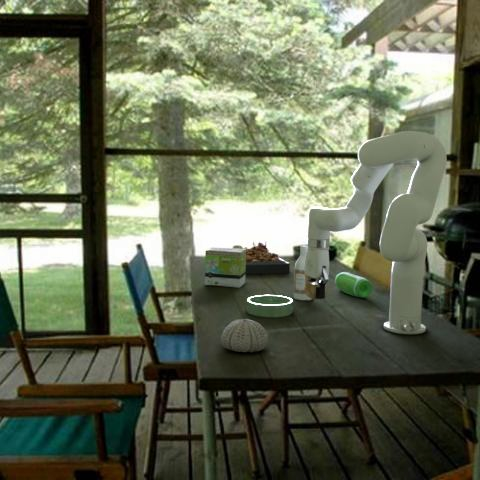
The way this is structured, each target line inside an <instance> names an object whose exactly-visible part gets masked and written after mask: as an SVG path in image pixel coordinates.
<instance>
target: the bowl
mask: <svg viewBox="0 0 480 480" xmlns="http://www.w3.org/2000/svg"><path fill="white" fill-rule="evenodd" d="M246 304H247V306H246V307H247V313H248V314H249V315H251V316H255V317H263V318H283V317H287V316H290V315H292V314H293V311H294V310H293V309H294V300H293V299H292V298H291V297H287V296H283V295H277V294H276V295H275V294H263V295H261V294H260V295H254V296H250V297H248V298H247V303H246Z"/></svg>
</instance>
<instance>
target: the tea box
mask: <svg viewBox="0 0 480 480" xmlns="http://www.w3.org/2000/svg"><path fill="white" fill-rule="evenodd" d="M204 261H205V262H204V285H205V286H219V287H229V288H237V289H239V288H241V287H242V286H243V285H245V283H246V274H245V269H246V249H232V248H231V247H213V246H212V247H211V248H208V249H206V250H205V259H204Z"/></svg>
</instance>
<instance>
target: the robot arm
mask: <svg viewBox="0 0 480 480" xmlns="http://www.w3.org/2000/svg"><path fill="white" fill-rule="evenodd" d="M447 157H448V156H447V151H446V149H445V146H444V145H443V143H442V142H441V141H440V140H439V138H438V137H436V136H435V135H433V134H431V133H429V132H424V131H414V130H402V131H399V132H395V133H391V134H387V135H383V136H380V137H375V138H372V139H368V140H366V141H364V142H363V143H362V144H361V145H360V146H359V149H358V151H357V159H358V162H359V165H358V167H357V168H356V169H355V171H354V172H353V174H352V176H351V178H350V182H351V185H352V186H353V188H354V190H353V194H352V196H351V198H350V199H349V201H348V202H347V204H346V205H345V206H344V207H338V208H328V207H324V206H312V207H310V208H309V209H308V211H307V234H306V237H307V238H306V246H307V250H306V257H305V269H304V273H305V274H306V275H307V276H308V282H311V281H317V287H316V299H315V300H324V299H326V298H325V287H326V284H328V282H329V281H330V280H329V276H330V252H329V249H330V242H331V233H332V232H333V233H339V232H343V231H350V230H353V229H355V228H356V227H357V226H358V225H360V223H361V222H362V220H363V219H364V218H365V216H366V215H367V214H368V211H369V210H370V209H371V206H372V203H373V199H374V194H375V192H376V190H377V189H378V187H379V185H380V184H381V183H382V182H383V180H384V178H385V177H386V176H387V175H388V173H389V171H390V170H391V168H392V167H393V166H394V164H398V163H402V162H417V165H416V168H415V169H414V171H413V173H412V176H411V178H410V183H409V187H408V189H407V191H406V193H402V194H399V195H398V196H396V197H394V199H393V200H392V201H391V203H390V204H389V207H388V209H387V213H386V215H385V220H384V223H383V227H382V230H381V234H380V238H379V250H380V253H381V255H382V256H383V258H384V259H385V260H387V261H388V262H392V265H391V269H390V270H391V271H390V288H389V310H388V311H389V312H388V313H389V314H388V321H386V322H384V323H383V329H384V330H385V331H387V332H391V333H394V334H400V335H420V334H423V333H425V332H426V331H427V327H426V325H425V324H423V323H422V312H423V311H422V309H423V308H422V307H423V290H424V274H425V273H424V272H425V264H426V263H425V262H426V257H427V252H428V240H427V236H426V234H425V233H424V232H423V231H422V230H421V229H419V228H418V227H417V226H419V225H423V224H426V223H427V222H429V221H430V220H431V219H432V216H433V214H434V210H435V207H436V203H437V200H438V196H439V192H440V188H441V184H442V180H443V178H444V174H445V171H446V167H447V161H448V160H447V159H448V158H447ZM320 281H321V282H320Z"/></svg>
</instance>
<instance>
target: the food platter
mask: <svg viewBox="0 0 480 480" xmlns="http://www.w3.org/2000/svg"><path fill="white" fill-rule="evenodd" d="M264 243H265V244H264ZM264 243H262V242H258V243H257V245H255V241H253V242H252V247H250V248H248V247H247V246H245V247H243V246H242V245H239V244H236V245H232V249H246V269H245V275H266V274H267V275H272V274H273V275H274V274H290V271H291V269H290V268H291V265H290V264H291V263H289V262H288V261H286V260H284V259H282V258H280V257H279V254H277V253H274V252H270V251H269V249H268V248H267V242H264Z"/></svg>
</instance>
